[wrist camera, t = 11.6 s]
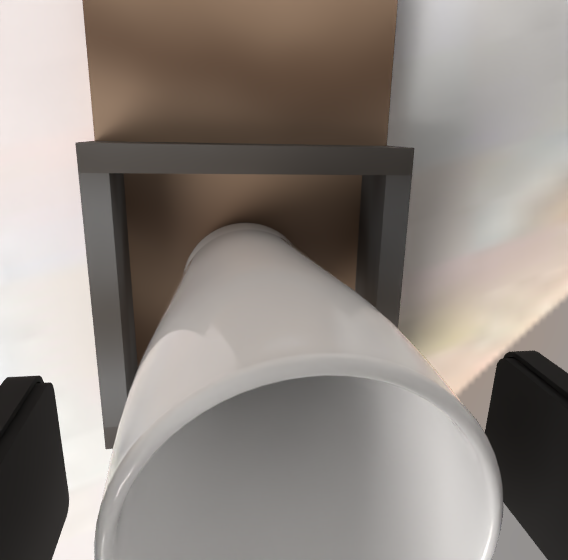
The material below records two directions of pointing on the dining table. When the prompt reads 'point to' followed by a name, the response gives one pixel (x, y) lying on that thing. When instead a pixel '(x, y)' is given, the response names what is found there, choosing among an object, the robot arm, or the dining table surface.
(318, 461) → the white cup
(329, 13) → the open box
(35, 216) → the dining table surface
